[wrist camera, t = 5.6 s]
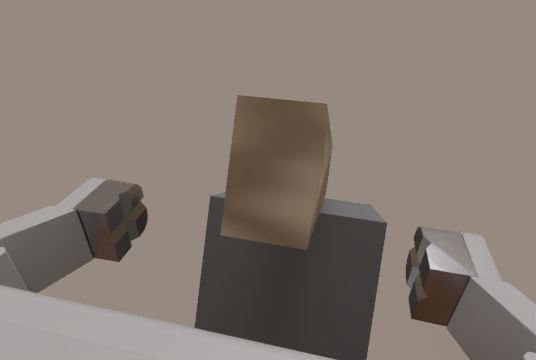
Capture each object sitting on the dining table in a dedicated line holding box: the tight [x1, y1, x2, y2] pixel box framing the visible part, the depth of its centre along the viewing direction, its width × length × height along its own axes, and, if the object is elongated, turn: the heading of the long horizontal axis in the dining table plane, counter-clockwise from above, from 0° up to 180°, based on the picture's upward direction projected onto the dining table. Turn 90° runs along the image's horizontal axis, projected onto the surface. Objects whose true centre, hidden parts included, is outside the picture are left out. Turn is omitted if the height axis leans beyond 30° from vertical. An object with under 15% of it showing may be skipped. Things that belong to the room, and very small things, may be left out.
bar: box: [221, 95, 332, 250], centre depth 20 cm, size 2×20×4 cm, turn 169°
